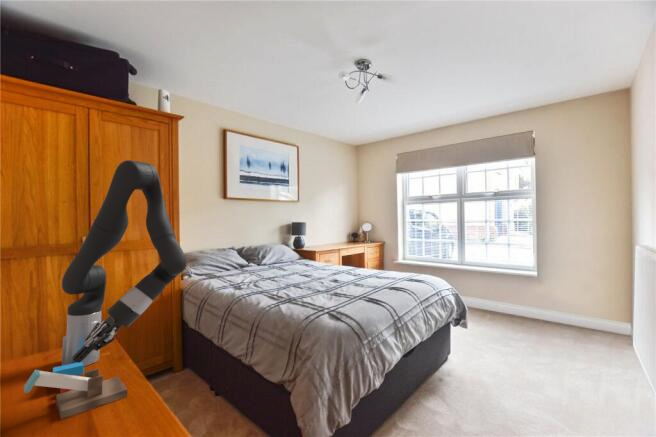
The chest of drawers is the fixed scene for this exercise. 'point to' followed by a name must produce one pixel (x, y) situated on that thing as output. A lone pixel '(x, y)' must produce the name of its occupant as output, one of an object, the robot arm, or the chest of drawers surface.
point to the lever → (69, 371)
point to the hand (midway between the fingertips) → (75, 360)
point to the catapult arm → (56, 381)
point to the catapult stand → (90, 395)
